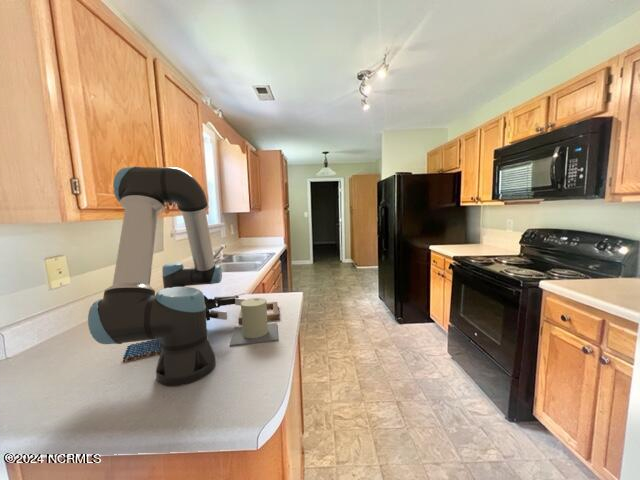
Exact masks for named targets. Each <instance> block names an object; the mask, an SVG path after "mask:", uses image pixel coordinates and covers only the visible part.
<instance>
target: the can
mask: <svg viewBox="0 0 640 480" xmlns="http://www.w3.org/2000/svg"><path fill="white" fill-rule="evenodd" d="M246 299H247V300H244V301H242V302H241V306H240V311H241V313H242V323H241V324H242V325H241V327H242V330H243V333H242V335H243V336H244V337H246V338H258V337H262V336H264V335H266V334H267V333H268V325H267V324H268V321H267V314H268V312H267V311H268V309H267V303H268V302H267V299H265V298H263V297H254V298H253V297H251V298H246Z"/></svg>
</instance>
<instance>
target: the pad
mask: <svg viewBox="0 0 640 480" xmlns="http://www.w3.org/2000/svg"><path fill="white" fill-rule="evenodd" d="M267 325H268V333H267V334H266V335H264V336H262V337H258V338H246V337H244V336H243V335H242V333H243V330H242V326H236V327H234V329H233V331H232V335H231V338H230V342H229V348H231V347H238V346H239V347H240V346H247V345H255V344H257V345H258V344H263V343H264V344H265V343H273V342H278V341H279V335H278V323H277V322H276V323H273V322H272V323H267Z"/></svg>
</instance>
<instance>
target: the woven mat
mask: <svg viewBox="0 0 640 480" xmlns="http://www.w3.org/2000/svg"><path fill="white" fill-rule="evenodd" d="M158 353H159V354H160V353H161V340H160V339H152V340H145V341H140V342H136V343H131V344H129V345H127V348H126V349H125V352H124V355H123V357H122V359H123V360H122V362H123V363H127V362H130V361H131V362H132V361H133V360H134V361H136V360H137V359H139V360H140V359H146V358H149V357H153V356H154V355H155V356H158Z"/></svg>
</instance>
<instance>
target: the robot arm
mask: <svg viewBox="0 0 640 480" xmlns="http://www.w3.org/2000/svg"><path fill="white" fill-rule="evenodd" d="M112 185H113V186H112V187H113V188H114V190H113V195H114V196H115V198H116V201H117V202H119V204H120V206H121V207H122V208H123V209H124V214H123V219H122V225H121V231H120V232H121V233H120V238H119V244H118V249H117V250H118V251H117V255H116V256H117V257H116V262H115V267H114V268H115V269H114V274H113V280H112V284H111V286H109V287H107V288H105V289H104V291H103V292H104V293H103V298H101V299H97V300H95V301H94V302H93V303H92V304H91V306H90V307H89V310H88V315H87V325H88V330H89V333H90V335H91V336H92V338H93V339H94V340H95V341H96V342H97V343H99V344H100V345H101V344H102V345H114V344H116V345H122V344H126V343H134V342H145V341H151V340H156V339H160V340H161V353H159V357H158V361H157V365H156V367H155V368H156V369H155V376H156V381H157V383H158V384H160V385H162V386H165V387H179V386H186V385H189V384H191V383H195V382H198V381H199V380H201V379H203V378H205V377H207V375H209V374H211V373H212V372H213V370H214V369H215V368H216V364H217V360H216V353H215V352H214V349H213V347H212V346H211V343H210V341H209V339H208V338H209V337H208V328H207V327H208V325H207V321H210V320H211V319H215V320H225V321H226V320H228V311H224V310H218V308H220V307H223V306H230V305H231V306H232V305H235V306H240V307H241V302H242V301H244V300H247V299H248V298H240V297H239V295H228V296H214V298H208V297H207V296H206V295H205V294H204V293H203V292H202V291H201V290H200V289H197V288H195V287H191V286H202V285H205V286H206V285H214V284H220V283H221V282H222V278H223V270H222V267H221V265H217V264H215V263H216V262H215V257H214V251H213V247H212V240H211V234H210V230H209V229H210V228H209V223H208V218H207V212H206V209H207V208H208V201H207V200H208V199H207V196H206V193H205V191H204V189H203V187H202V186H201V184H200V183H199V182H198V180H197V179H196V178H195V177H194V176H193V175H191V174H190V173H189V172H187V171H186V170H184V169H182V168H179V167H173V166H167V167H166V166H162V167H159V166H158V167H157V166H154V167H153V166H152V167H151V166H149V167H148V166H147V167H145V166H142V167H141V166H130V167H128V166H127V167H123V168H121V169H119V170H118V171H117V172H116V174H115V176H114V177H113V183H112ZM174 203H175V204H176V206H177V209H178V211H179V212H181V214H182V217H183V218H182V219H183V222H184V226H185V231H186V234H187V239H188V243H189V248H190V252H191V256H192V260H193V266H192V267H189V266H187V267H185V266H184V263H182V262H171V263H170V262H168V263H166V264H164V265H162V267H161V268H162V269H161V270H162V271H161V272H162V276H161V277H162V283H163V288H162V289H160V290H158V291H157V292H156V290H155V289H154V288H153V287H152V286H151V278H152V277H151V276H152V269H153V259H154V252H155V251H154V250H155V243H156V242H155V241H156V233H157V232H156V231H157V224H158V223H157V222H158V215H159V214H160V213H162V212H163V211H164V209H165V204H174ZM189 286H190V287H189ZM215 309H216V310H215Z"/></svg>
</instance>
